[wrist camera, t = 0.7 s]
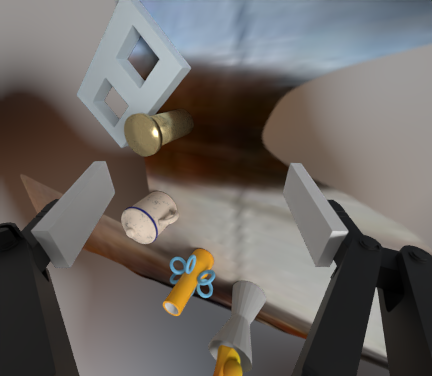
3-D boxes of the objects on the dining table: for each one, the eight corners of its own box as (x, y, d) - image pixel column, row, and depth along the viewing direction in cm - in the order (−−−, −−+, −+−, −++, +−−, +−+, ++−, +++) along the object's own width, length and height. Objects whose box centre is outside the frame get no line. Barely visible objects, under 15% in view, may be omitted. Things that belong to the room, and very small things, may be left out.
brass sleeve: (181, 97, 40) (136, 104, 30) (202, 124, 40) (166, 140, 31) (163, 119, 43) (117, 132, 33) (183, 144, 44) (144, 163, 34)
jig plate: (136, -3, 36) (123, -9, 33) (191, 68, 37) (182, 67, 34) (88, 93, 48) (76, 94, 45) (131, 144, 49) (121, 148, 47)
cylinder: (176, 251, 59) (139, 297, 46) (194, 231, 53) (157, 277, 41) (211, 281, 58) (183, 335, 46) (233, 264, 53) (207, 321, 40)
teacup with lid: (154, 221, 57) (121, 250, 48) (142, 190, 54) (104, 214, 44) (193, 222, 52) (165, 255, 42) (182, 188, 49) (150, 215, 39)
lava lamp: (234, 302, 58) (154, 522, 30) (229, 277, 55) (133, 496, 26) (268, 310, 55) (215, 570, 26) (265, 283, 51) (198, 548, 22)
